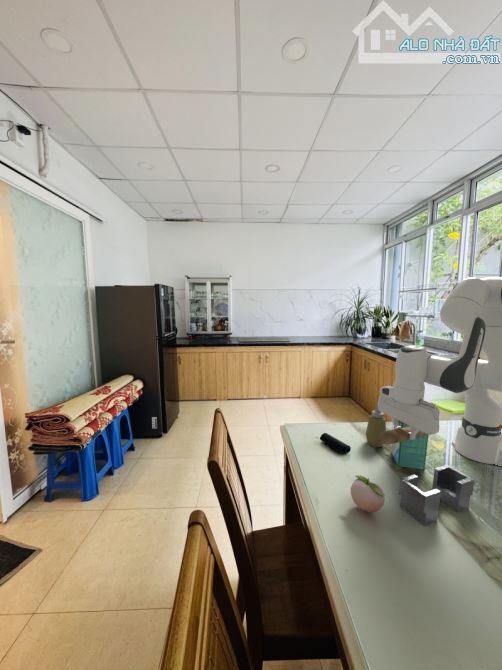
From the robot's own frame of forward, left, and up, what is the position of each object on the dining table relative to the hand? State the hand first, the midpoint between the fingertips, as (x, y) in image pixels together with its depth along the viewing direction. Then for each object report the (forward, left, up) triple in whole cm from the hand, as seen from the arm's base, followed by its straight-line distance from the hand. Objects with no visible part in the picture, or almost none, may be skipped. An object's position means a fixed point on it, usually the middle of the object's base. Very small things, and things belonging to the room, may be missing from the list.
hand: (403, 434), depth 91 cm
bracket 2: (-7, +12, -17) cm, 22 cm away
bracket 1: (+7, +12, -17) cm, 22 cm away
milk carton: (-14, -8, -17) cm, 23 cm away
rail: (0, +2, -1) cm, 2 cm away
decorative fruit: (+21, +6, -17) cm, 28 cm away
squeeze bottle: (-12, -22, -17) cm, 30 cm away
